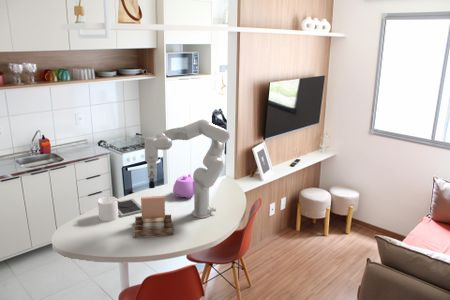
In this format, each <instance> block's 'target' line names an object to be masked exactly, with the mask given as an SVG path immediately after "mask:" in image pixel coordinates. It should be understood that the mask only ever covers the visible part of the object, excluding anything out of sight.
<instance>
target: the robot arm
mask: <svg viewBox="0 0 450 300" xmlns="http://www.w3.org/2000/svg"><path fill="white" fill-rule="evenodd" d="M201 135H203V136H204V137H207V138H209V139H210V140H211V143H210V146H209V149H208V150H207V152H206V154H205V155H204V157H203V160H202V164H203V166H204V167H206V168H207V169H206V168H204V167H198V168H195V170H194V172H193V174H192V175H193V177H192V178H193V179H194V195H193V197H194V200H193V201H194V202H193V203H194V204H193V205H194V206H193V208H194V209H193V210H192V211H191V215H192V216H193V217H194V218H198V219H205V218H209V217H210V216H211V215H212V212H213V213H214V212H217V208H214V207H213V206H212V207H210V188H211V187H213V186H214V185H215V183H216V182H217V180H218V178H219V177H220V175H221V173H222V171H223V169H224V160H222V158H221V157H222V154H223V151H224V149H225V144H226V142H227V143H228V141H229V139H230V133H229V131H228V130H227V129H225V128H223V127H221V126H219V125H217V124H216V125H215V124H213V123H212V122H210V121H209V120H207V119H200V120H197V121H194V122H192V123H189V124H186V125H184V126H180V127H175V128H169V129H167V130H163V131H161V132H158V133H157V134H156V135H155V136H147V137H145V139H144V161H145V162H146V164H147V165H146V166H147V167H146V168H147V178H148V182H149V183H148V188H149V189H155V188H156V187H155V186H156V185H155V184H156V182H155V178H158V177H157V176H158V175H157V173H158V172H157V167H158V166H157V162H158V161H159V150H162V151H164V150H165V151H166V150H169V149H171V148H172V147H173V142H172V141H177V140H178V141H179V140H181V141H189V140H191V139H194V138H196V137H199V136H201Z"/></svg>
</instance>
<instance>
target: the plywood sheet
mask: <svg viewBox="0 0 450 300" xmlns="http://www.w3.org/2000/svg"><path fill="white" fill-rule="evenodd" d="M165 201H166V199H165V195H154V196H153V195H152V196H151V195H150V196H141V197H140V206H141V210H142V213H141V216H142V220H143V219H148V218H164V219H165V215H166V202H165Z"/></svg>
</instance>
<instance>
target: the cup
mask: <svg viewBox="0 0 450 300" xmlns="http://www.w3.org/2000/svg"><path fill="white" fill-rule="evenodd" d="M117 201H118V198H117V197H116V196H112V195H111V196H109V195H108V196H103V197H100V198H99V199H98V200H97V207H98V219H99V220H100V221H102V222H113V221H115V220H117V219H118V218H119V214H118V202H117Z"/></svg>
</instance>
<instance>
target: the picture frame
mask: <svg viewBox="0 0 450 300" xmlns="http://www.w3.org/2000/svg"><path fill="white" fill-rule="evenodd" d="M117 202H118V216H119V217H120V218H126V217H129V216H133V215H138V214H142V210H141V204H139V203H138V202H137V201H136V200H135V199H134V198H129V199H124V200H120V201H119V200H117Z"/></svg>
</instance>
